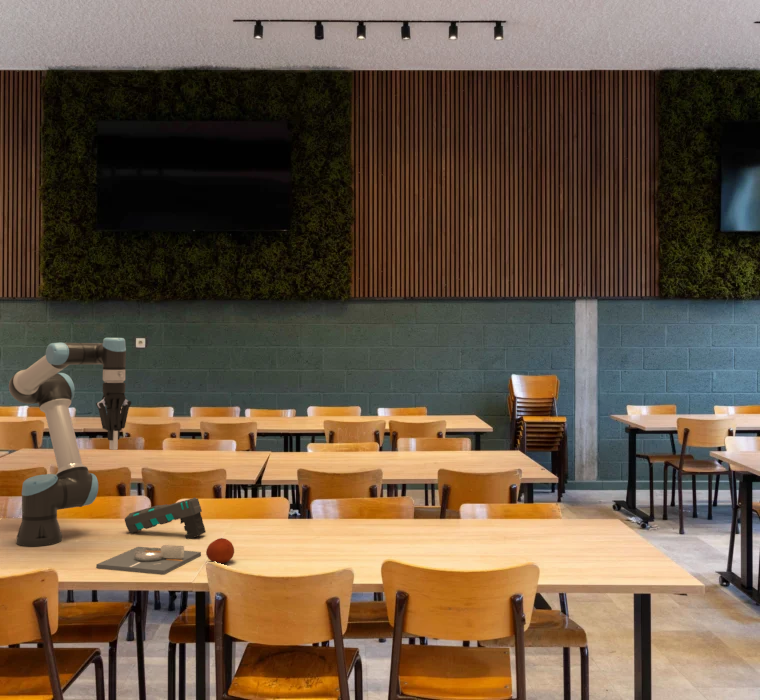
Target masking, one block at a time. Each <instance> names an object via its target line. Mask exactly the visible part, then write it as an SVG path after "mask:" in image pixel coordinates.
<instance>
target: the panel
mask: <svg viewBox="0 0 760 700" xmlns="http://www.w3.org/2000/svg"><path fill="white" fill-rule="evenodd" d="M144 548H149V547H146V546H136V547H134V548H132V549H129V550H126V551H124V552H122V553H120V554H117V555H116V556H113V557H110V558H108V559H106V560H104V561H101V562H99V563H96V569H102V570H103V569H104V570H111V571H124V572H133V573H134V572H135V573H145V574H154V575H155V574H156V575H166V574H167V573H169V572H171V571H173V570H175V569H177V568H179V567H181V566H183V565H185V564H187V563H189V562H191V561H194V560H195V559H196V558H198V557H202V556H201V555H202V552H201V551H196V550H195V551H194V550H184V557H183V558H182V559H176V558H165V559H162V560H159V561H151V562H142V561H137V560H135V559H134V552H135V551H137V550H140V549H144Z"/></svg>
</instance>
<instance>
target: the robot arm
mask: <svg viewBox="0 0 760 700" xmlns="http://www.w3.org/2000/svg"><path fill="white" fill-rule="evenodd" d="M126 347H127V346H126V339H125V338H124V337H105V338H103V340H102V342H101V343H100V342H51V343H49V344H48V345H47V348H46V349H45V354H44V355H43V356H42V357H40V358H39V359H38V360H37V361H35V362H34V363H33V364H31V365H30V366H29V367H28V368H26V369H21V370H18V371H17V372H16V373H15V374H13V375H12V377H11V378H10V379H9V382H8V391H9V393H10V395H11V396H12V397H13V399H15V400H16V401H17V402H20V403H23V404H28V405H31V404H33V405H34V404H37V405H38V407H39V410H40V412H42V413H44V414H45V420H46V422H47V426H48V427H47V428H48V431H49V436H50V440H51V445H52V448H53V454H54V457H55V462H56V466H57V472H56V473H55V474H54V473H46V474H39V475H34V476H31V477H29V478H26V479H25V480H24V481H23V482H22V487H21V488H22V489H21V523H20V526H19V529H18V533H17V535H16V537H15V538H16V541H15V542H16V544H17V545H19V546H22V547H41V546H49V545H54V544H57V543H60V542H62V541H63V533H62V531H61V527H60V525H59V521H58V510H64V509H73V508H81V507H84V506H90V505H92V504H93V502H95V500H96V498H97V496H98V493H99V481H98V478H97V475H95V474H94V473H91V472H89V469H88V466H87V465H84V464H83V462H82V457H81V453H80V450H79V446H78V441H77V437H76V433H75V428H74V426H73V421H72V417H71V413H70V408H69V407H70V406H71V404H72V401H73V400H74V397H75V393H76V392H75V391H76V390H75V384H74V382H73V380H72V377H71V376H70V375H69V374H66V373H65V372H61V371H63V370H64V369H66V368H67V367H68V366H71V365H102V381H103V383H102V398H101V400H100V401H97V402H96V403H95V406H96V407H97V409H98V413H99V418H100V422H101V427H102V429H103V430H105V431H107V440H108V443H109V450H111V451H117V450H119V449H118V448H119V443H118V441H120V435H121V434H120V431H122V429H125V427H126V423H127V418H128V415H129V409H130V406H131V405H132V401H131V400H128V399H126V395H125V394H126V393H125V392H126V383H125V382H124V381H126V367H127V366H126V357H127V355H126V354H127V348H126Z"/></svg>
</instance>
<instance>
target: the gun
mask: <svg viewBox="0 0 760 700" xmlns="http://www.w3.org/2000/svg"><path fill="white" fill-rule="evenodd" d="M202 512H203V511H202V506H201V504H200V501H199V498H197V497H193V498H189V499H185V500H180V501H178V502H175V503H170V504H166V503H165V504H159V505H158V504H157V505H154V506H150V507H147V508H144V509H140V510H137V511H134V512H130V513H129V514H128V515H127V516H126V517H124V523H125V527H126V528H127V530H128V532H129V533H130V534H133V533H137V532H141V531H142V530H143V529H146V530H147V529H151V528H154V527H157V526H158V525H164V524H168V523H172V522H173V521H176V520H180V523H179V524H183V523H184V526H183V529H184V531H185V532H186V534H185V539H187V540H189V539H194V538H197V537H199V536H201V535H203V534H206V533H207V531H206V528H205V523H204V521H203V517H202V514H201V513H202Z"/></svg>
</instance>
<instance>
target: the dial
mask: <svg viewBox="0 0 760 700" xmlns="http://www.w3.org/2000/svg"><path fill="white" fill-rule="evenodd" d="M184 551H185V545H172V544H171V545H170V544H163V545H161V546H160V547H148V548H144V549H140V550H137V551H135V552H134V559H135V560H137V561H142V562H151V561H159V560H162V559H165V558H176V559H182V558H183V557H184Z"/></svg>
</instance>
